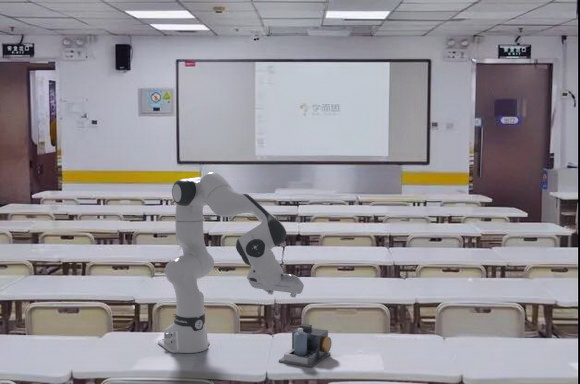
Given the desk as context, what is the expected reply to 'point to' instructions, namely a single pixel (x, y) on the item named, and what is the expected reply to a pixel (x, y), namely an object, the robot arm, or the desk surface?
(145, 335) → the desk surface
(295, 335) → the bottle
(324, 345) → the gray recessed holder
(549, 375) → the desk surface
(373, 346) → the desk surface
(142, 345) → the desk surface
